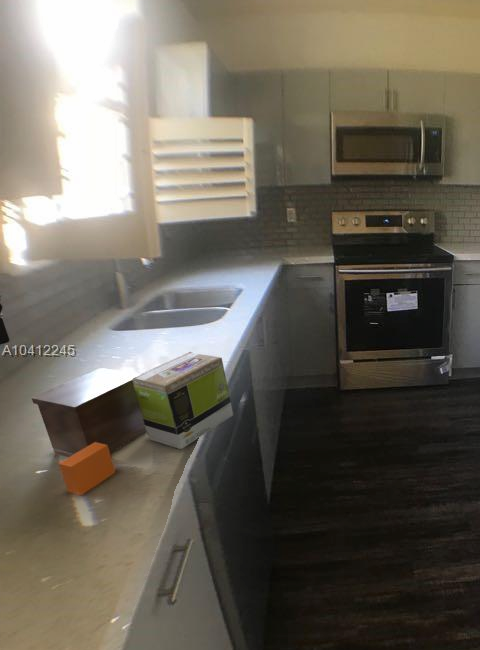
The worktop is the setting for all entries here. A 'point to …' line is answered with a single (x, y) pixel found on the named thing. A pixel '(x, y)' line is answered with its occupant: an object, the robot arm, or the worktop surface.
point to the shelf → (92, 412)
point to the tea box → (183, 398)
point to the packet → (87, 468)
